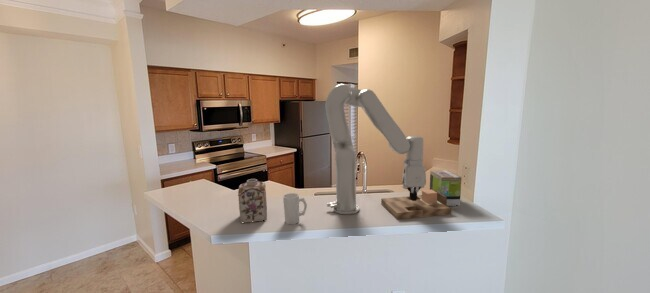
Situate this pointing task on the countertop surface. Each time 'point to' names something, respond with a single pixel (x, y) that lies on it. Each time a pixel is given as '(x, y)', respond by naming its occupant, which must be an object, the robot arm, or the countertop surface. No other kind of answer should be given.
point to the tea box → (446, 185)
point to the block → (429, 196)
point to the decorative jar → (252, 201)
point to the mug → (293, 208)
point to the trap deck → (416, 207)
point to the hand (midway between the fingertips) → (413, 199)
